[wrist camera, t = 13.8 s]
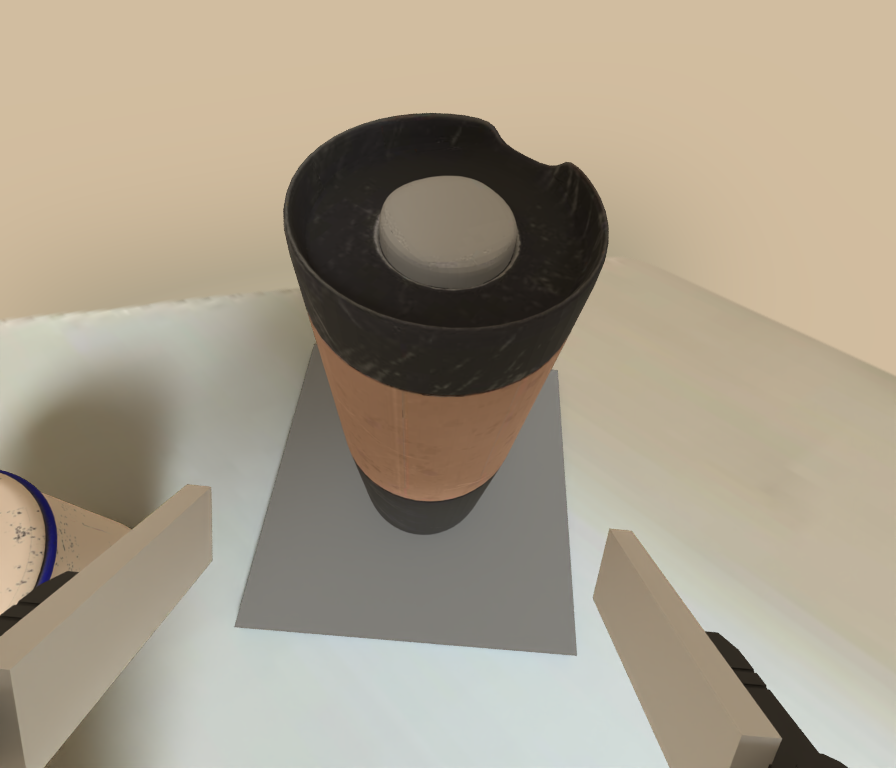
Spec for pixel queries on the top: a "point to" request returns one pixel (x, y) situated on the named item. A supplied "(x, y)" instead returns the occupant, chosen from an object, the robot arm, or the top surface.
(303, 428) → the pad
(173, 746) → the top surface
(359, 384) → the travel mug
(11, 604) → the teacup with lid
